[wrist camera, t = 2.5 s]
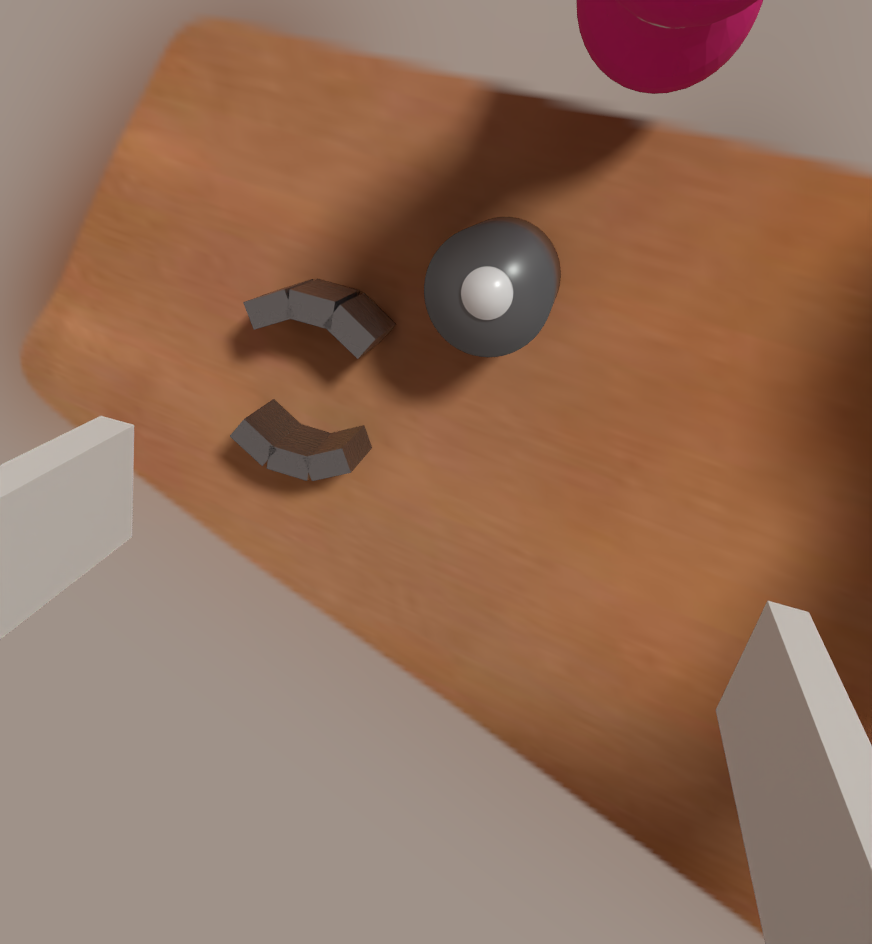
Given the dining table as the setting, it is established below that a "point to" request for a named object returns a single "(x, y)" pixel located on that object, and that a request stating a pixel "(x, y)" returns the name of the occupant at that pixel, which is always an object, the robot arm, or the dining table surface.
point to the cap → (492, 286)
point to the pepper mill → (663, 39)
